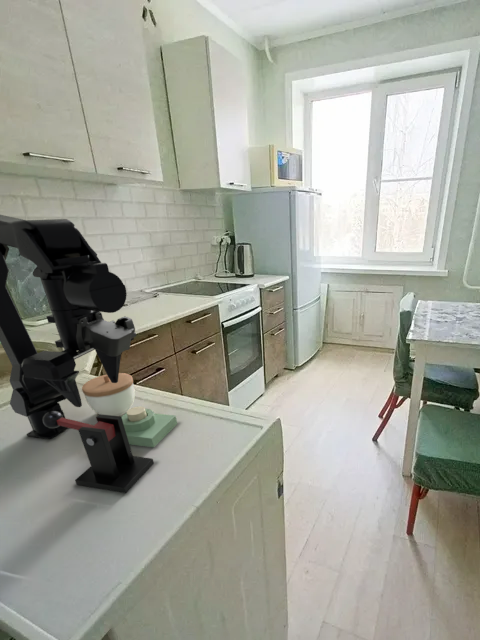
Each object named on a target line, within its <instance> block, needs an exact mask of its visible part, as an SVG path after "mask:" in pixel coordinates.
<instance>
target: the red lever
mask: <svg viewBox="0 0 480 640" xmlns="http://www.w3.org/2000/svg"><path fill="white" fill-rule="evenodd" d="M43 423H44V425H45V426H46V427H48V428H57V427H59V426H64V427H68V428H67V429H72V430H76V431H78V430H79V429H80V428H81V427H90V428H98V429H105V431H106V434H107V438H108V441H110V440H111V439H112V438H114V437H115V436H116V435H115V429H114V425H113V424H109V423H105V422H101V421H99V422H96V423H95V424H90V423H86V422H82V421H78V420H74V419H70V418H67V417H65V418H63V416H62V414H61V413H59V412H57V411H50V412H48V413H46V414H45V415H44V417H43Z"/></svg>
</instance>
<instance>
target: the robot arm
mask: <svg viewBox="0 0 480 640" xmlns="http://www.w3.org/2000/svg"><path fill="white" fill-rule="evenodd" d="M75 226H76V224H74V222H73V221H71V220H69V219H68V218H51V219H49V218H48V219H22V218H18V217H14V216H8V215H4V214H0V345H1V346H2V348H3V351H4V353H5V354H6V356H7V358H8V360H9V362H10V365H11V372H10V375H9V384H10V386H11V389H12V392H11V397H10V401H9V405H10V407H11V408H12V410H13V412H14V413H15V414H18V415H20V416H23V417H26V418H27V419H28V421H29V424H30V426H31V429H32V430H31V431H29V432H28V433H27V434H26V436H27V437H30V438H37V439H45V440H52V439H53V438H55V437H56V436H58V435H60V434H61V433H62V432H64V431H65V430H67V429H69V428H68V427H64V426H59V427H57V428H48V427H46V426H45V425H44V423H43V417H44V415H45V414H46V413H48V412H50V411H57V412H59V413H61V414H62V416H63V418H66V416H65V413H64V411H63V409H62V407H61V404H60V402H62V401H65V400H67V401H69V402H70V404H72V405H73V407H76V408H81V407H82V406H83V404H82V403H83V402H82V398H81V394H80V391H79V387H78V384H77V380H76V379H77V377H78V375H79V373H80V370H75V368H76V366H77V363H76V361H75V360H76V359H79V358H80V357H83V356H85V355H87V354H89V353H91V352H93V351H95V352H96V353H95V354H96V355H97V357H98V359H99V361H100V364H101V365H102V367H103V369H104V371H105V373H106V375H108V377H109V379H110V380H111V382H112V383H117V382H118V376H119V373H120V367H121V366H120V365H121V359H122V355H123V352H126V351H129V350H130V349H131V342H132V341H134V340H135V338H136V337H137V332H136V327H135V324H134V321H133V319H132V318H131V317H129V316H126V315H124V316H122V317H119V318H117V319H116V321H115V320H111V321H107V320H105V319H104V316H103V313H107V314H113V313H116V312H118V311H120V310H121V309H122V308H123V307H124V306H125V303H126V300H127V294H128V293H127V288H126V287H127V286H126V285H125V283H124V282H123V280H122V279H121V278H120V277H119V276H118V275H117V274H115V273H113V272H111V271H110V270H109V266H108V263H107V262H102V261H101V260H100V259H99V256H98V253H97V252H96V251H95V250H94V249H93V248H92V246H90V244H89V242H88V240H86V238H85V237H84V235H83V234H82V233H81V232H80V230H79V229H78V228H77V227H75ZM9 247H12V248H15V249H18V252H19V255H20V256H21V257H22V258H24V259H26V260H28V261H30V262H32V263H33V264H34V265H36V267H35V268H33V271H32V276H33V277H34V278H40V282H41V284H42V288H43V291H44V293H45V297H46V300H47V302H48V306H49V309H50V313H51V314H49V315H47V316H45V317H46V320H47V323H49V324H55V327H56V331H57V333H58V337H59V339H57V340H55V341H54V344H55V346H56V348H60V349H61V348H62V349H63V350H62V351H52V350H42V351H39V352H38V351H37V349H36V347H35V344H34V342H33V340H32V339H31V336H30V334H29V332H28V330H27V328H26V326H25V323H24V322H23V320H22V317H21V315H20V313H19V311H18V308H17V306H16V305H15V302H14V300H13V299H12V296H11V295H10V292H9V290H8V288H7V281H8V277H9V272H10V270H9V267H8V264H7V257H8V254H9V251H10V248H9Z"/></svg>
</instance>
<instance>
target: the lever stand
mask: <svg viewBox="0 0 480 640" xmlns="http://www.w3.org/2000/svg"><path fill="white" fill-rule="evenodd" d="M121 416H122V415H121ZM121 416H111V415H102V414H98V415H97V416H96V417H95V419H96V423H98V422H99V421H101V422H105V423H109V424H113V425H114V429H115V435H116V436H115V437H114V438H112V439H111V440H110V441H108V438H107V434H106V431H105V429H98V428H90V427H81V428H80V429H79V430H77V431H78V433H79V436H80V439H81V442H82V445H83V448H84V450H85V453H86V455H87V458H88V462H89V464H90V466H89V467H88V468H87V469H86V470H85V471H84V472H82V473H81V474H80V475H79V476H78V477H77V478H75V479H74V481H75V484H76V486H79V487H86V488H91V489H96V490H104V491H109V492H115V493H121V494H127V493H128V492H129V491H130V490H131V489H132V488H133V487H134V486H135V485H136V483H137V482H138V481H139V480H140V479H141V478H142V477H143V476H144V475H145V474H146V473H147V472H148V471H149V470H150V468H151V467H152V466H153V465H154V464H155V463H154V459H153V458H151V457H143V456H137V455H136V456H135V455H133V452H132V448H131V444H129V441H128V438H127V434H126V431H125V428H124V424H123V421H122V417H121Z"/></svg>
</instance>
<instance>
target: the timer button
mask: <svg viewBox="0 0 480 640" xmlns="http://www.w3.org/2000/svg"><path fill="white" fill-rule="evenodd" d="M145 409H146V408H145V407H144V406H142V405H141V406H140V405H139V406H133V407H130V409H129V410H128V411H127V416H128V420H129V421H131V422H135V421H140V420H142V419H144V418H146V417H147V414H146V411H145Z"/></svg>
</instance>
